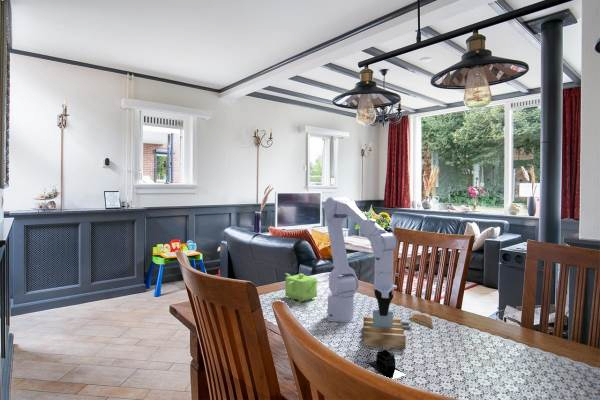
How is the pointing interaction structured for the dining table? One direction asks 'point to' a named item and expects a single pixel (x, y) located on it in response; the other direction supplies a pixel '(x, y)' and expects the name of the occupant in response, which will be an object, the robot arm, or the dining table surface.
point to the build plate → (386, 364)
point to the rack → (383, 334)
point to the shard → (422, 320)
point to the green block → (301, 287)
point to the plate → (382, 319)
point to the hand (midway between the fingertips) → (383, 314)
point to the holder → (405, 325)
